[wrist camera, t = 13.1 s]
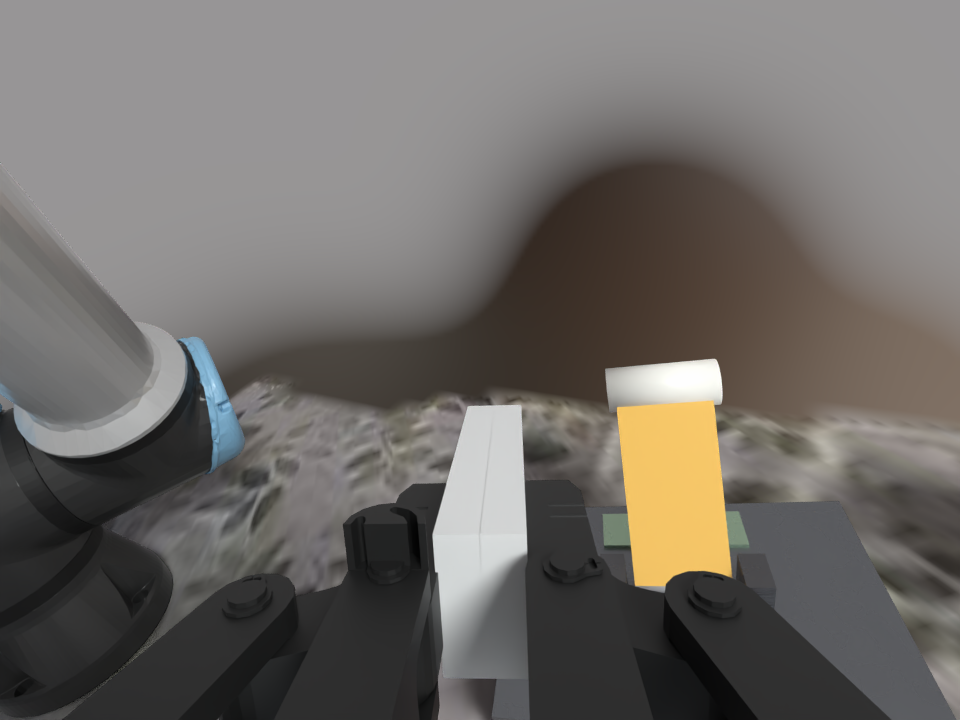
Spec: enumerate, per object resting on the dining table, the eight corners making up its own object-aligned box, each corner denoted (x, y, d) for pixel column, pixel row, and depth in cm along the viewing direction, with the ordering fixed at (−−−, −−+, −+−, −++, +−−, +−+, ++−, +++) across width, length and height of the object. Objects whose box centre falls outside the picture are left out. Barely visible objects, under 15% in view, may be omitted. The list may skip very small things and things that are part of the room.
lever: (745, 603, 32) (719, 358, 32) (628, 601, 34) (604, 369, 34) (734, 583, 35) (710, 358, 35) (627, 581, 37) (605, 368, 37)
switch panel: (955, 791, 27) (994, 727, 23) (504, 747, 33) (480, 691, 29) (832, 537, 40) (844, 471, 36) (527, 539, 46) (512, 483, 42)
